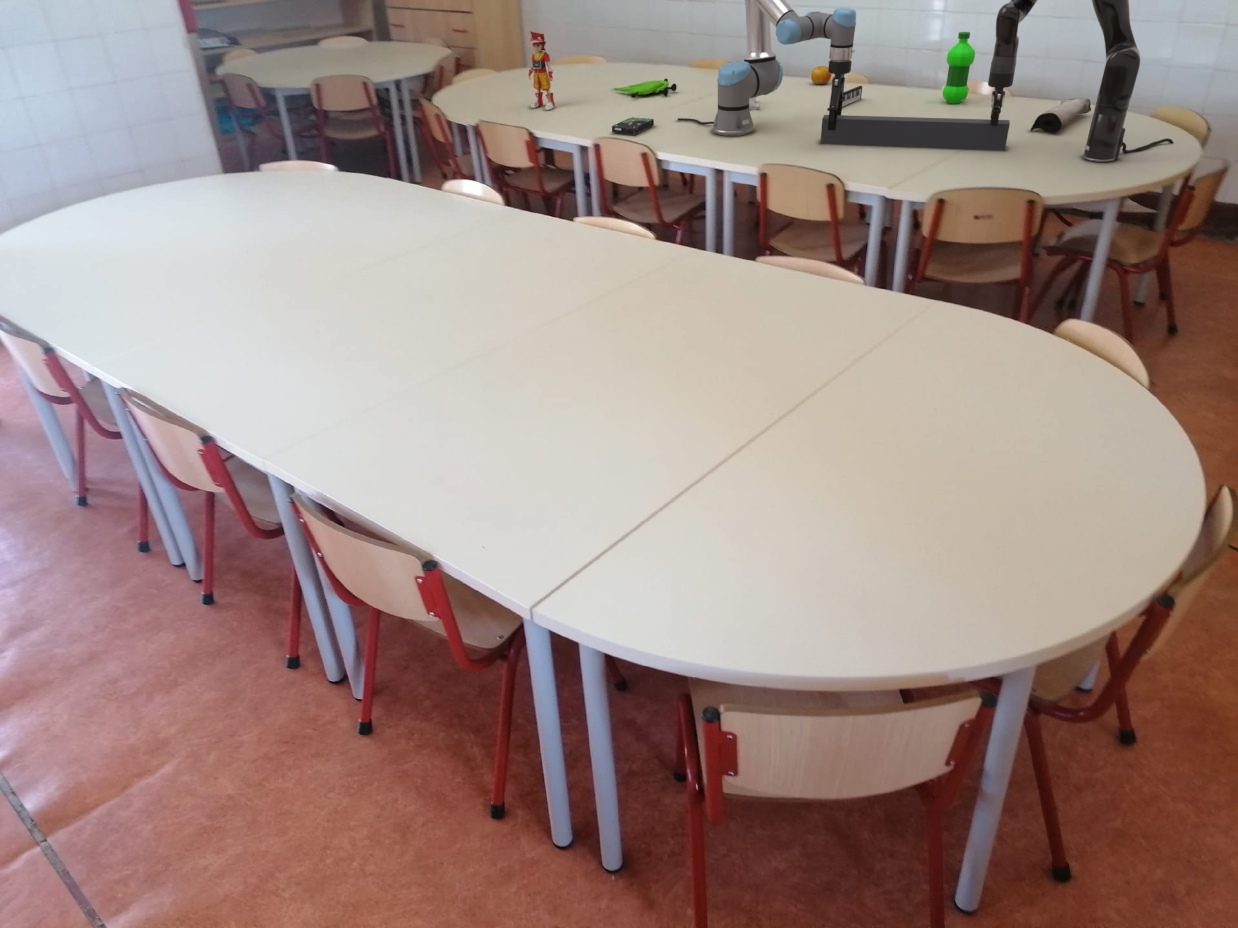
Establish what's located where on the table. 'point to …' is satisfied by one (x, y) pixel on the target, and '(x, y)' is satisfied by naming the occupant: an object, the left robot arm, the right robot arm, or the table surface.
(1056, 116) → the rolled mat
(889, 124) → the beam
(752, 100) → the anatomical model
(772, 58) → the left robot arm
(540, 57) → the toy
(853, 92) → the midi keyboard
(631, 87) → the toy
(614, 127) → the disk drive
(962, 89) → the plastic bottle
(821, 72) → the fruit
